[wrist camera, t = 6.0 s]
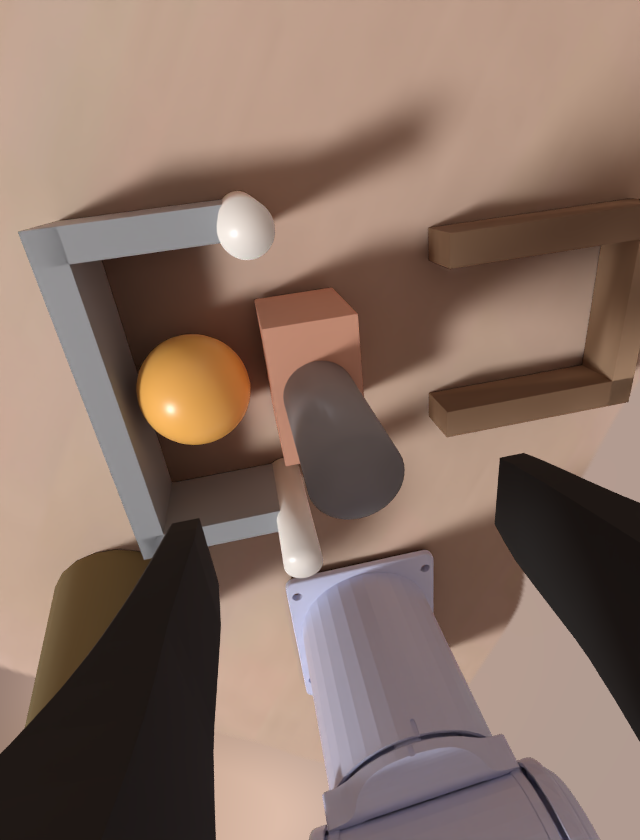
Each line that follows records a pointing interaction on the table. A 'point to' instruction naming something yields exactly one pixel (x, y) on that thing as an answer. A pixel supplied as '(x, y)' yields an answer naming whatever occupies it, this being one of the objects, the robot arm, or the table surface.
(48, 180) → the table surface
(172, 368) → the ball
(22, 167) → the table surface
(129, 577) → the olive green tapered cylinder
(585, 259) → the table surface
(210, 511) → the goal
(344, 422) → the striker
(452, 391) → the rail frame
